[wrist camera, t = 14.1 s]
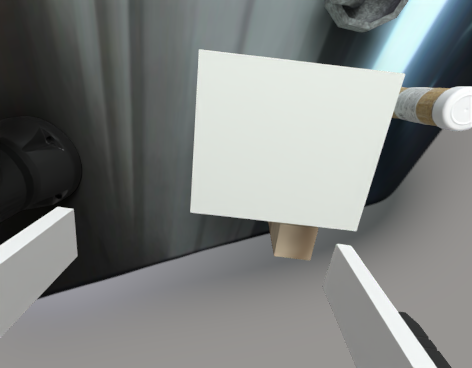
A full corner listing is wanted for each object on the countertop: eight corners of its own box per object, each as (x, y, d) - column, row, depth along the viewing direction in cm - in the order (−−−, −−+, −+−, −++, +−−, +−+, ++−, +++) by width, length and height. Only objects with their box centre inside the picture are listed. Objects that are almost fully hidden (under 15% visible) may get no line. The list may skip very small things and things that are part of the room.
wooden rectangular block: (267, 215, 47) (274, 256, 36) (281, 130, 42) (295, 147, 30) (294, 218, 47) (310, 260, 36) (312, 134, 42) (337, 152, 30)
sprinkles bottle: (418, 102, 40) (499, 109, 27) (392, 124, 41) (458, 140, 28) (400, 79, 39) (476, 76, 26) (374, 103, 40) (435, 110, 27)
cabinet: (213, 158, 44) (190, 212, 25) (221, 67, 39) (199, 49, 20) (308, 169, 44) (356, 231, 25) (327, 80, 39) (405, 73, 20)
